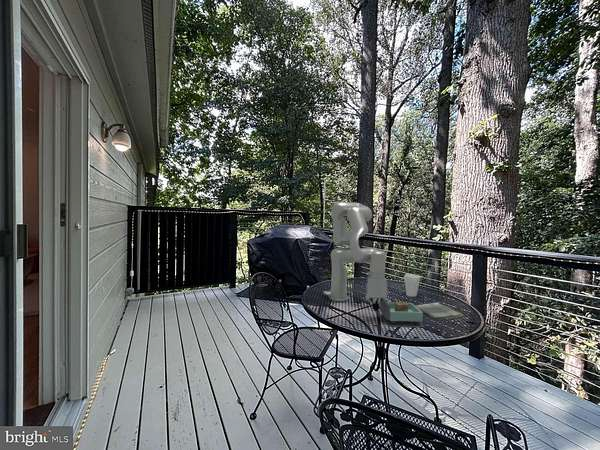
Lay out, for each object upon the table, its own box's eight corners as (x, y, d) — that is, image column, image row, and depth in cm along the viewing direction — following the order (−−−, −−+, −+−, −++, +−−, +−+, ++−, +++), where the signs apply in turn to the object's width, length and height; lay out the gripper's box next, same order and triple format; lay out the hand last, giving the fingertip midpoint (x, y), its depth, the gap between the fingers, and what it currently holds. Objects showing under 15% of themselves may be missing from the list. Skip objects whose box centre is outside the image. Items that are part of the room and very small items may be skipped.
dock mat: (388, 326, 145) (388, 326, 145) (378, 314, 161) (378, 313, 161) (425, 327, 145) (425, 327, 145) (411, 314, 162) (411, 314, 162)
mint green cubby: (387, 325, 146) (388, 305, 145) (379, 314, 160) (380, 296, 159) (422, 325, 146) (423, 306, 146) (410, 315, 160) (412, 297, 160)
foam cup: (411, 298, 191) (412, 278, 190) (400, 293, 200) (401, 274, 199) (422, 296, 196) (423, 276, 195) (410, 292, 204) (412, 273, 203)
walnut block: (398, 314, 150) (398, 305, 150) (394, 311, 155) (395, 301, 155) (407, 314, 150) (408, 305, 150) (404, 311, 155) (404, 301, 155)
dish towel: (435, 320, 156) (435, 314, 156) (414, 308, 173) (414, 303, 173) (464, 318, 161) (465, 312, 160) (441, 306, 178) (441, 301, 178)
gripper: (364, 276, 147) (362, 312, 148) (394, 277, 148) (392, 313, 149) (360, 273, 155) (359, 307, 156) (389, 273, 155) (387, 308, 157)
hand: (375, 310), depth 152 cm, fingers closed
